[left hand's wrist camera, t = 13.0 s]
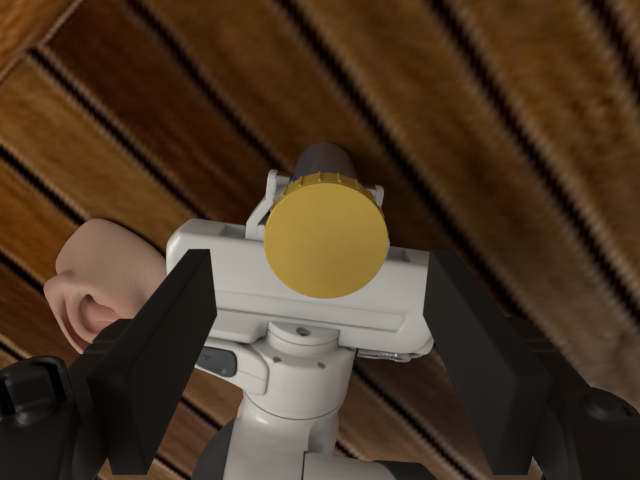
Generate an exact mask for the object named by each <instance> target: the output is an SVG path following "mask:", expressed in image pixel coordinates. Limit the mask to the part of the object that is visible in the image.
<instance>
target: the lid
mask: <svg viewBox="0 0 640 480" xmlns="http://www.w3.org/2000/svg"><path fill="white" fill-rule="evenodd" d="M270 212H271V213H270V216H268V219H267V221H266V224H265V226H264V229H265V231H264V251H265V255H266V259H267V261H268V263H269V266H270V268H271V269H272V271H273V272H274V274H275V275H276V276H277V277H278V279H279V280H280V281H281V282H283V283H284V284H285V285H286V286H288V287H289V288H290V289H292V290H294V291H296V292H297V293H300V294H302V295H305V296H309V297H313V298H319V299H331V298H338V297H343V296H346V295H349V294H352V293H354V292H356V291H358V290H359V289H361V288H363V287H364V286H365V285H367V284H368V283H369V282H370V281H371V280H372V279H373V278H374V277H375V276H376V274H377V273H378V272H379V270H380V269H381V267H382V265H383V263H384V260H385V258H386V254H387V250H388V232H387V227H386V224H385V221H384V218H385V216H384V214H383V212H382V210H381V208H380V206H378V205H377V203H376V201H375V199H374V197H373V195H372V193H371V191H370V190H369V191H368V190H367V189H366V188H365V187H364V186H362V185H361V184H360V183H358V181H357V179H355V180H353V179H351V178H349V177H347V176H344V175H341V174H340V173H338V172H337V174H336V173H321V171H319V172H318V173H316V174H311V175H308V176H305V177H302V176H301V177H300V179H298V180H296V181H295V182H293V183H292V184H290V185H289V186H288V187H287V186H285V188H284V191H283V192H282V193H281V194H280V195H279V197H278V198H277V200H274V202H273V205H272V207H271V209H270Z"/></svg>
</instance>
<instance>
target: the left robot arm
mask: <svg viewBox="0 0 640 480" xmlns="http://www.w3.org/2000/svg"><path fill="white" fill-rule="evenodd" d="M216 317H217V306H216V298H215V289H214V280H213V271H212V262H211V253H210V249H188V250H187V252H186V253H185V254H184V255H183V257H182V258H181V259H180V260H179V262H178V263H177V264H176V265H175V267H174V268H173V269H172V270H171V272H170V273H169V274H168V275H167V277H166V278H165V279H164V280H163V282H162V283H161V284H160V285H159V287H158V288H157V289H156V290H155V292H154V293H153V294H152V295H151V297H150V298H149V299H148V300H147V302H146V303H145V304H144V305H143V307H142V308H141V309H140V311H139V312H138V313H137V314H136V316H135V317H134V318H133V319H118V320H116V321H115V322H113V323H112V324H110V325H108V326H107V327H105V328H104V329H102V330H101V332H100V333H99V334H98V335H97V336H96V337H95V338H94V340H93V341H92V344H89V345H88V346H87V347H86V349H85V350H84V351H83V354H80V355H79V356H78V358H77V359H76V360H75V361H74V362H73V363H72V364H71V365H70V367H69V368H68V369H66V365H65V362H64V361H63V360H62V359H61V358H59V357H57V356H50V355H45V356H36V357H31V358H28V359H25V360H21V361H18V362H16V363H14V364H12V365H10V366H8V367H5V368H3V369H2V370H1V371H0V480H99V477H98V473H99V471H100V469H101V467H102V466H103V464H104V462H105V460H106V459H107V457H108V459H109V463H110V467H111V470H112V474H113V475H147V473H148V470H149V468H150V466H151V464H152V461H153V459H154V457H155V455H156V452H157V450H158V448H159V446H160V443H161V441H162V439H163V436H164V434H165V432H166V430H167V427H168V425H169V423H170V421H171V418H172V416H173V414H174V412H175V409H176V407H177V405H178V403H179V400H180V398H181V396H182V394H183V391H184V389H185V387H186V385H187V382H188V380H189V378H190V376H191V373H192V371H193V369H194V367H195V364H196V362H197V360H198V358H199V355H200V353H201V351H202V349H203V346H204V344H205V342H206V340H207V337H208V335H209V333H210V331H211V328H212V326H213V324H214V322H215V319H216ZM423 317H424V319H425V322H426V324H427V326H428V328H429V331H430V333H431V335H432V337H433V340H434V342H435V344H436V346H437V349H438V351H439V353H440V355H441V358H442V360H443V362H444V364H445V367H446V369H447V371H448V373H449V376H450V378H451V380H452V382H453V385H454V387H455V389H456V391H457V394H458V396H459V398H460V400H461V403H462V405H463V407H464V409H465V412H466V414H467V416H468V418H469V421H470V423H471V425H472V427H473V430H474V432H475V434H476V437H477V439H478V441H479V443H480V446H481V448H482V450H483V452H484V455H485V457H486V459H487V461H488V464H489V466H490V468H491V470H492V473H493V475H527V474H528V470H529V467H530V463H531V459H532V456H533V457H534V458H535V460H536V462H537V464H538V465H539V467H540V469H541V471H542V472H543V474H542V477H541V480H640V414H639V413H638V411H637V410H636V409H635V408H634V407H632V406H631V405H630V404H629V403H627V402H626V401H625V400H623V399H621V398H620V397H618V396H616V395H614V394H612V393H610V392H607V391H604V390H601V389H598V388H594V387H590V386H589V385H588V384H587V383H586V382H585V380H584V379H583V378H582V377H581V376H580V375H579V374H578V373H577V371H576V370H575V369H574V368H573V367H572V366H571V365H570V364H569V362H568V361H567V360H566V359H565V358H564V357H563V356H562V355H561V354H560V353H558V352H557V349H556V348H555V347H554V346H553V345H552V343H551V342H548V339H547V338H546V337H545V336H544V334H543V333H542V332H541V331H540V330H539V329H538V328H537V327H536V326H534V325H532V324H531V323H529V322H528V321H526V320H524V319H523V318H521V317H505V316H504V314H503V313H502V312H501V311H500V309H499V308H498V307H497V305H496V304H495V303H494V302H493V300H492V299H491V298H490V297H489V295H488V294H487V293H486V292H485V290H484V289H483V288H482V287H481V285H480V284H479V283H478V282H477V280H476V279H475V278H474V277H473V275H472V274H471V273H470V272H469V270H468V269H467V268H466V267H465V265H464V264H463V263H462V262H461V260H460V259H459V258H458V257H457V255H456V254H455V253H454V252H453V250H452V249H430V253H429V262H428V271H427V280H426V289H425V298H424V306H423Z"/></svg>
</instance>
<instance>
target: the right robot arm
mask: <svg viewBox="0 0 640 480" xmlns="http://www.w3.org/2000/svg"><path fill="white" fill-rule="evenodd" d="M291 177H292V173H290V172H284V171H278V170H270V172H269V175H268V180H267V190H266V195H265V197H264V198H263V199H262V200H261V202H260V203H259V204H258V206H257V207H256V208H255V210H254V211H253V212H252V214H251V216H250V217H249V219H248V221H247V224H246V226H244V225H237V224H230V223H223V222H216V221H209V220H202V219H190V220H188V221H187V222H186V223H184V224H183V225H182V226H181V227H180V228H178V229H177V230H176V231H175V233H174V234H173V235H172V236H171V238H170V239H169V241H168V244H167V250H166V266H167V275H168V274H169V273H170V272H171V270H172V269H173V268H174V267H175V265H176V264H177V263H178V262H179V260H180V259H181V258H182V257H183V255H184V254H185V253H186V252H187V250H188V249H210V253H211V262H212V271H213V280H214V289H215V298H216V306H217V317H216V319H215V322H214V324H213V326H212V328H211V331H210V333H209V335H208V337H207V340H206V342H205V344H204V346H203V349H202V351H201V353H200V355H199V358H198V360H197V362H196V364H195V368H198V369H200V370H203V371H206V372H208V373H211V374H213V375H215V376H218V377H220V378H222V379H224V380H227V381H229V382H231V383H233V384H235V385H237V386H238V387H240V388H242V389H243V394H244V398H243V400H242V402H241V404H240V407H239V410H238V415H237V419H235V418H234V419H232V420H231V421H230V422H228V423H227V424H226V425H225V426H224V427H223V428H222V429H221V430H220V431H219V432H218V433H217V434H216V435H215V436H214V437H213V438H212V439H211V440H210V441H209V442H208V444H207V445H206V447H205V448H204V450H203V452H202V454H201V456H200V458H199V460H198V462H197V464H196V467H195V469H194V472H193V475H192V478H191V480H437V479H436V477H435V476H434V475H433V474H432V473H431V472H430V471H429V470H428V469H427V468H426V467H425V466H423V465H422V464H420V463H413V462H397V461H381V460H375V461H372V462H370V461H364V460H358V459H352V458H346V457H340V456H334V455H332V454H333V450H334V446H335V443H336V439H337V434H338V428H339V418H338V410H339V409H340V407H341V406H342V404H343V402H344V400H345V397H346V394H347V389H348V384H349V380H350V375H351V371H352V367H353V361H354V357H363V358H371V359H389V360H393V361H396V362H410V360H411V358H418V357H421V356H423V355H425V354H428V353H429V352H430V350H431V349H432V347H433V343H434V340H433V337H432V335H431V333H430V331H429V328H428V326H427V324H426V322H425V319H424V317H423V306H424V298H425V289H426V280H427V271H428V262H429V253H430V252H428V251H421V250H414V249H407V248H400V247H393V246H390V241H389V238H388V250H387V254H386V258H385V260H384V263H383V265H382V267H381V269H380V270H379V272H378V273H377V274H376V276H375V277H374V278H373V279H372V280H371V281H370V282H369V283H368V284H367V285H365V286H364V287H363V288H361V289H359V290H358V291H356V292H354V293H352V294H349V295H346V296H343V297H338V298H331V299H319V298H313V297H309V296H305V295H302V294H300V293H297V292H296V291H294V290H292V289H290V288H289V287H288V286H286V285H285V284H284V283H283V282H281V281H280V280H279V279H278V277H277V276H276V275H275V274H274V272H273V271H272V269H271V268H270V266H269V263H268V261H267V259H266V255H265V251H264V231H265V229H264V226H265V224H266V221H267V219H268V216H266V215H265V214H266V213H267V212H268V210H269V209H270V208H271V207H272V205H273V202H274V200H277V198H278V197H279V195H280V194H281V193H282V192H283V191H284V188H285V186H287V187H288V186H289V184H290V181H291ZM361 185H362V186H364V187H365V188H366V189H367V190H368V191H369V190H370V191H371V193H372V195H373V197H374V199H375V201H376V203H377V205H378V206H380V208H381V206H382V201H383V197H384V189H383V187H382V186H379V185H372V184H365V183H361Z"/></svg>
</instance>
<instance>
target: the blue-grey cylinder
mask: <svg viewBox="0 0 640 480" xmlns="http://www.w3.org/2000/svg"><path fill="white" fill-rule="evenodd" d="M319 171H321V173H336V174H337V172H338V173H340V174H341V175H344V176H347V177H349V178H351V179H353V180H355V179H357V181H358V183H360V182H359V179H358V176H357V174H356V171H355V169H354V166H353V163H352V161H351V159H350V156H349V155H348V154H347V152H346V151H345V150H344V149H343V148H341V147H340V146H338V145H336V144H333V143H329V142H320V143H316V144H313V145H311V146H309V147H308V148H306V149H305V150H304V151H303V152H302V153H301V155H300V156H299V158H298V160H297V163H296V166H295V169H294V172H293V175H292V178H291V181H290V184H292V183H293V182H295V181H296V180H298V179H300V177H301V176H302V177H305V176H308V175H311V174H316V173H318V172H319ZM290 184H289V185H290Z"/></svg>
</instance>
